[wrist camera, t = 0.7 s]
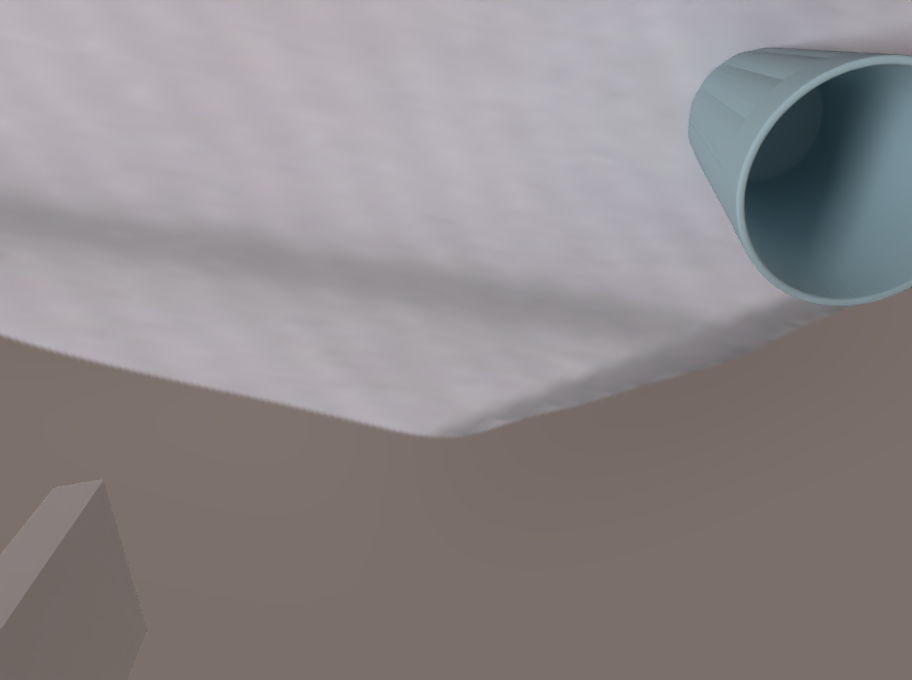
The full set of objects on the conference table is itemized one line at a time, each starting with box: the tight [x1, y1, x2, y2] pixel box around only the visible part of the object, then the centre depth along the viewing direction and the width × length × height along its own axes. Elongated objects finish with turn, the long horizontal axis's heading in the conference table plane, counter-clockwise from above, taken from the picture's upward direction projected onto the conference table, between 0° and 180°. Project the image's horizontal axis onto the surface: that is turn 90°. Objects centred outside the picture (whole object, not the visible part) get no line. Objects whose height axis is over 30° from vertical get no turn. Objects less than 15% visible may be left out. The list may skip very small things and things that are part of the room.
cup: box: [688, 48, 912, 306], centre depth 30 cm, size 8×8×10 cm
